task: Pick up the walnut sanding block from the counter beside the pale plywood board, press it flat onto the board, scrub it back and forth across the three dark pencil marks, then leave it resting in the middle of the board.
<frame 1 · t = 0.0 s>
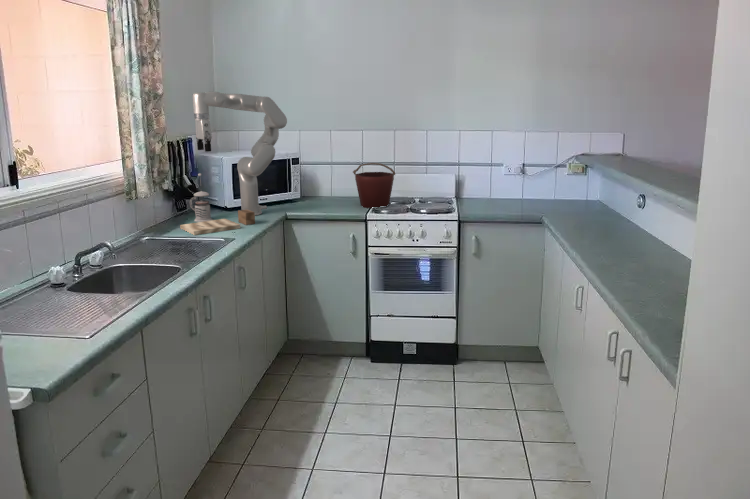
hand: (204, 150, 324), 37 cm above the worktop, tool pointing down, fingers open, 9 cm apart
plywood board: (210, 228, 313), on the worktop
bucket: (375, 205, 369), on the worktop
french press: (202, 220, 334), on the worktop
sanding block: (246, 223, 325), on the worktop
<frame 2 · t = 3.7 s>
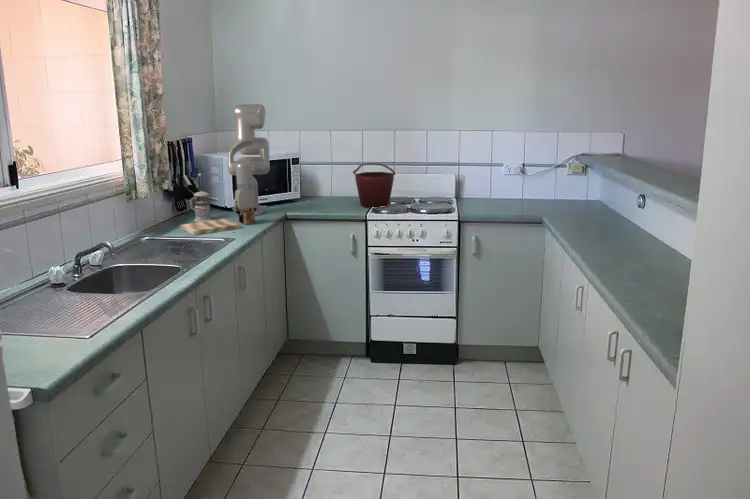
hand: (246, 221, 325), 1 cm above the worktop, tool pointing down, fingers closed on sanding block, 5 cm apart
sanding block: (246, 223, 325), on the worktop, touching gripper
everything else where it was.
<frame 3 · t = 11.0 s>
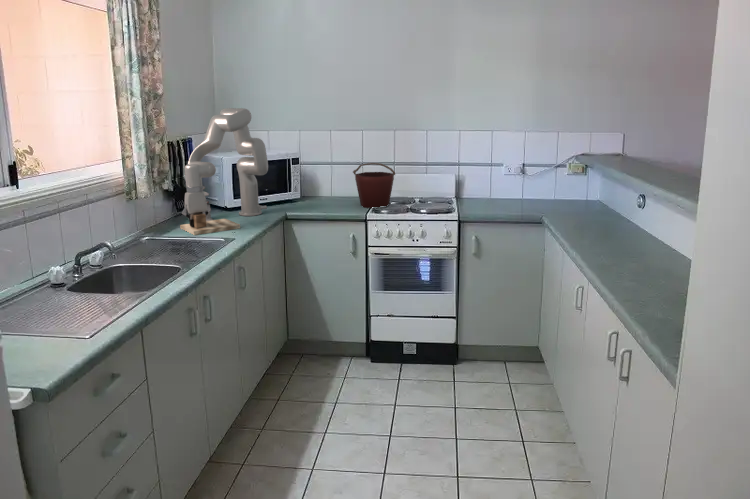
hand: (197, 225, 309), 2 cm above the worktop, tool pointing down, fingers closed on sanding block, 5 cm apart
sanding block: (198, 226, 309), point 2 cm above the worktop, touching gripper, plywood board
everything else where it was.
when the fingers open (3 cm above the worktop, at t = 18.5 s): sanding block stays where it is, resting on plywood board.
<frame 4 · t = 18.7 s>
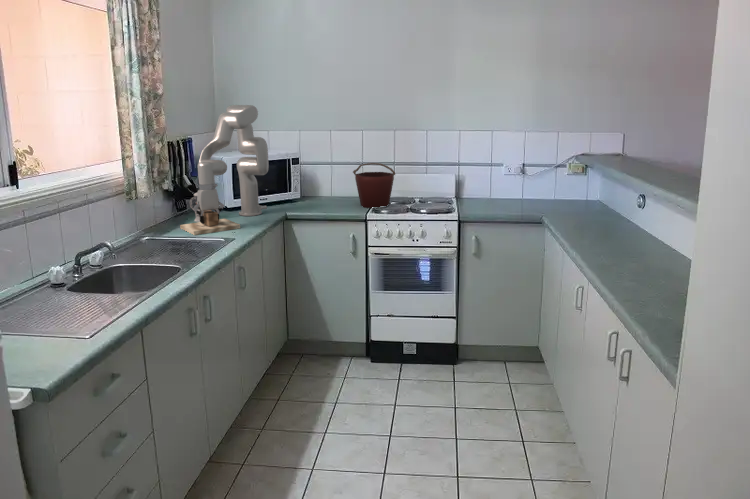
hand: (209, 222, 312), 3 cm above the worktop, tool pointing down, fingers open, 7 cm apart
sanding block: (210, 224, 313), point 2 cm above the worktop, touching plywood board
everything else where it was.
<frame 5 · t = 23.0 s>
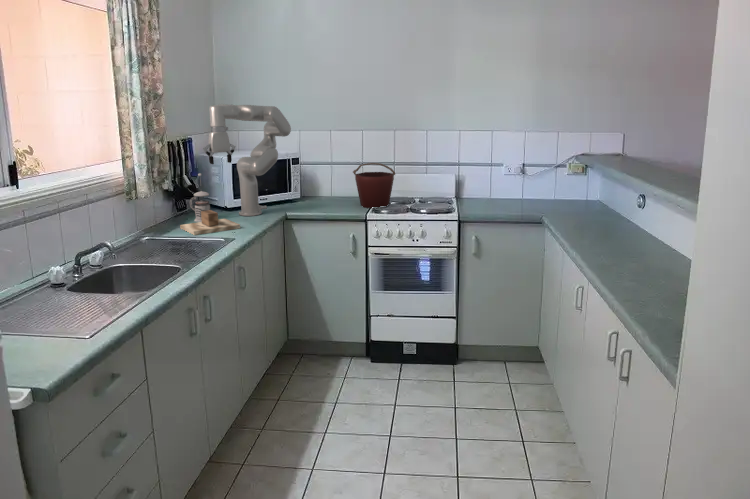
hand: (220, 163, 324), 30 cm above the worktop, tool pointing down, fingers open, 9 cm apart
nothing on the worktop moved.
at the end: sanding block inside the target area on the plywood board (0.1 cm from its centre), point 2.0 cm above the plywood board's base; sanding block tilted 0°; the gripper is holding nothing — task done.
